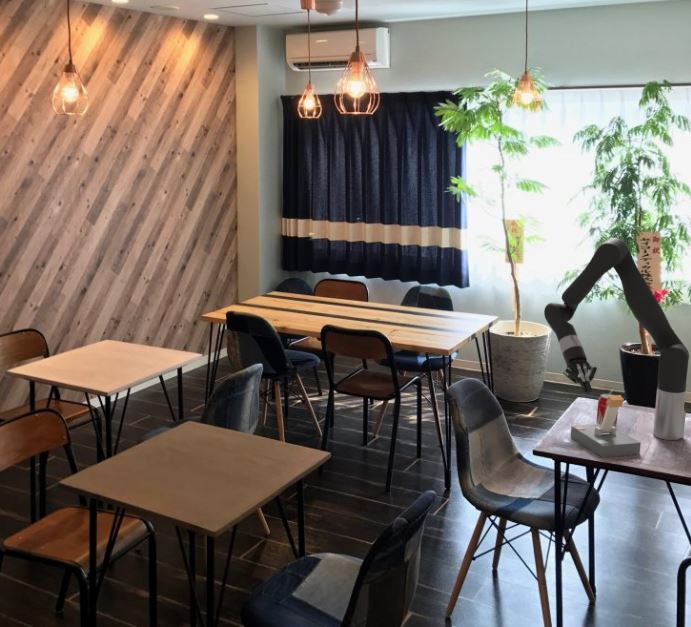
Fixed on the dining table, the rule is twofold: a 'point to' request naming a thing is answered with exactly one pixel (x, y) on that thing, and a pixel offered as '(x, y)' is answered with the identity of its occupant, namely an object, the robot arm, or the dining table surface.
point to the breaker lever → (611, 412)
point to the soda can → (603, 408)
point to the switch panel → (605, 440)
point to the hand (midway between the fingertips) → (588, 392)
